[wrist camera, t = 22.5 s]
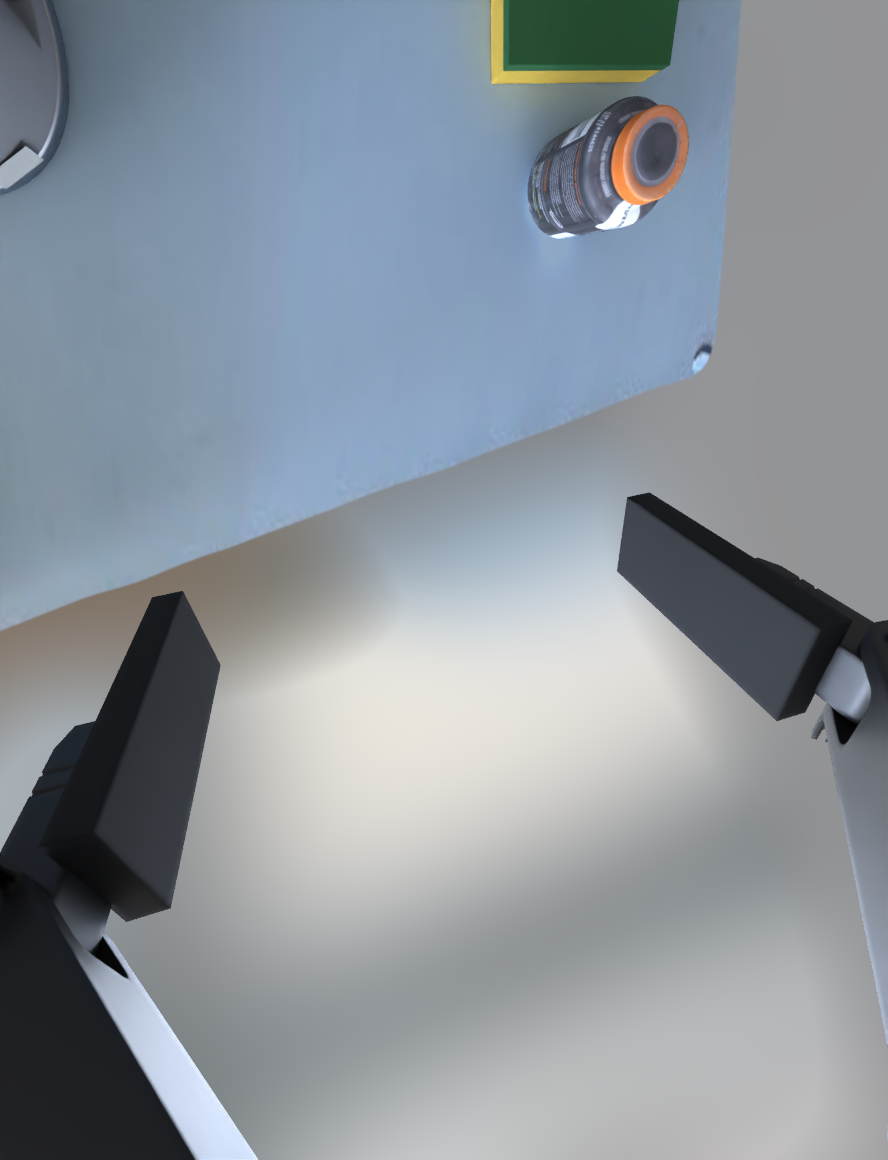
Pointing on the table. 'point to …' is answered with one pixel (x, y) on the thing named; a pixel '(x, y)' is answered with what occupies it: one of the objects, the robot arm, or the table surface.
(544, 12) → the sponge
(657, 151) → the orange-lidded supplement jar
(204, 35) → the table surface
